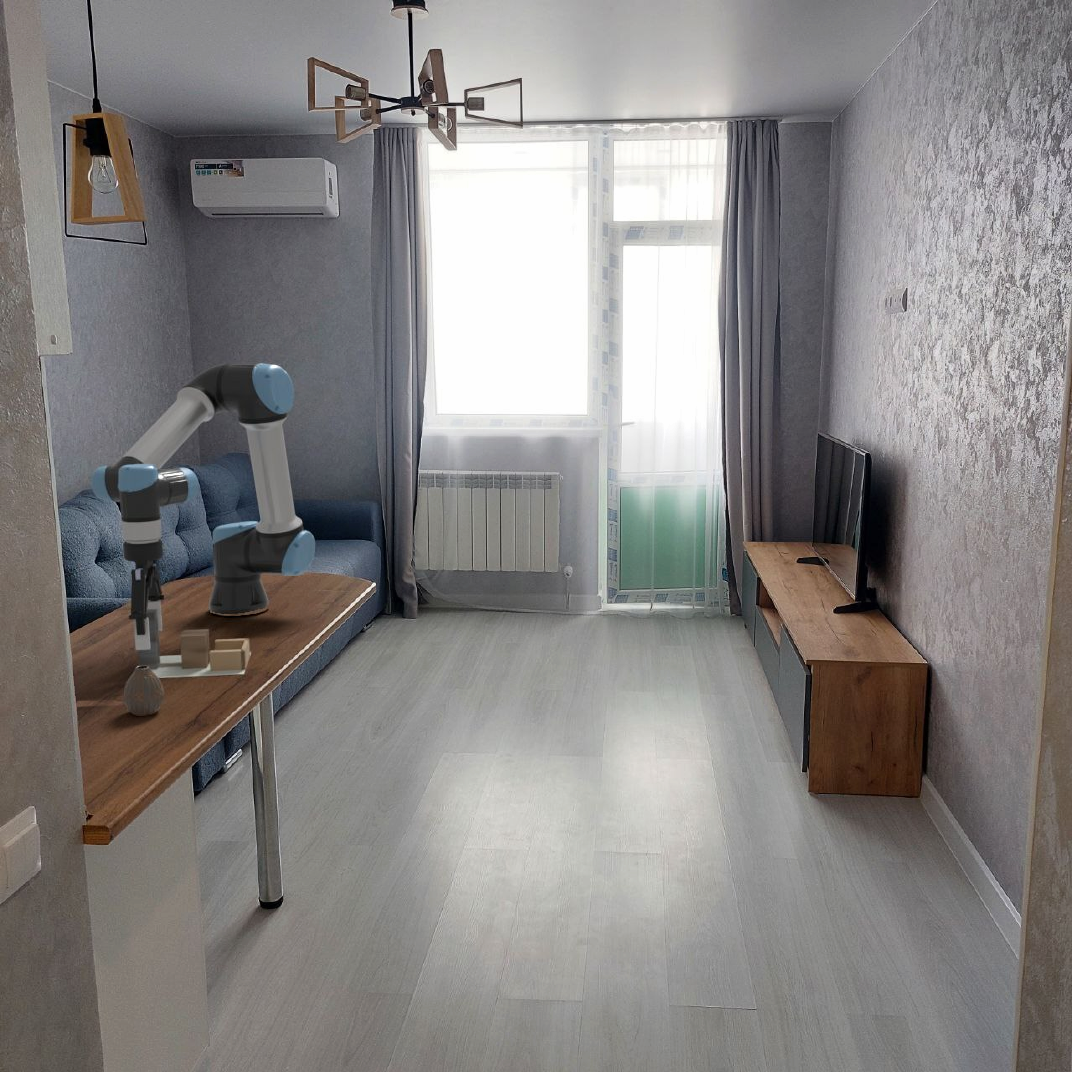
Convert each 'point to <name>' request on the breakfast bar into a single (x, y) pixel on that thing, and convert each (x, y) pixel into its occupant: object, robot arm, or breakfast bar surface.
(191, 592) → the breakfast bar surface
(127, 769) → the breakfast bar surface
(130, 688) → the vase
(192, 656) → the tether block
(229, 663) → the white board with bracket
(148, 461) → the robot arm
